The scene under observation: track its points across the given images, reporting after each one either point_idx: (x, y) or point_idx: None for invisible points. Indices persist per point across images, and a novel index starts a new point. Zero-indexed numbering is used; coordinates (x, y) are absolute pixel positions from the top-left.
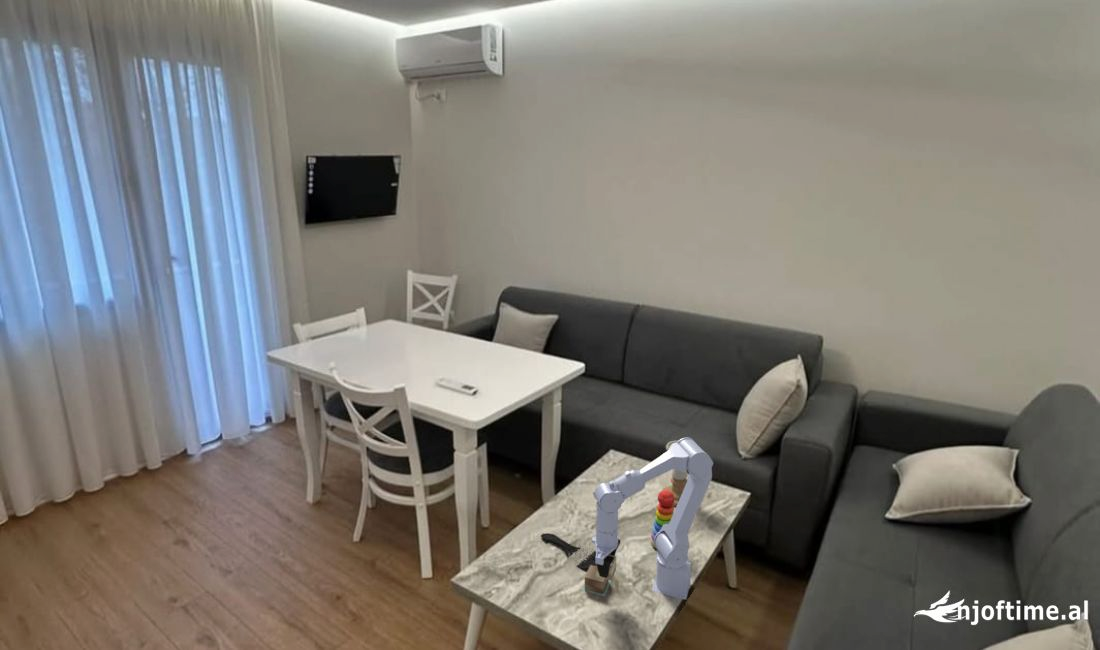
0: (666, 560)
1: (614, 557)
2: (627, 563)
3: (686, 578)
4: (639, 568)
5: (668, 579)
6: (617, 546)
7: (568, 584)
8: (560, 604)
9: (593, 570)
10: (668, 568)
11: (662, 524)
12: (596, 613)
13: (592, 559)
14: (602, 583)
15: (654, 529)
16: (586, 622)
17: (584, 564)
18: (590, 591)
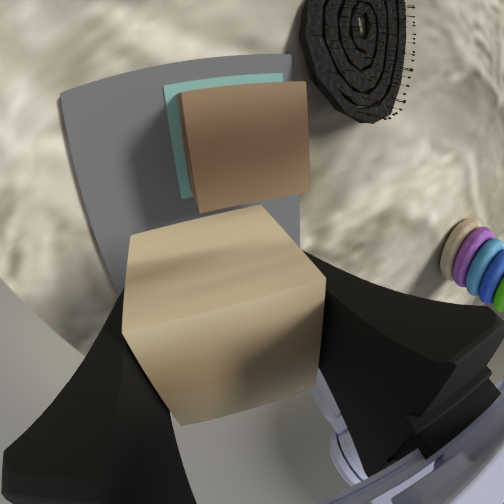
0: (337, 463)
1: (296, 389)
2: (393, 191)
3: (325, 417)
4: (380, 235)
5: (318, 385)
6: (363, 461)
7: (182, 9)
8: (45, 55)
9: (267, 115)
10: (332, 425)
11: (500, 295)
12: (83, 213)
13: (372, 62)
14: (197, 205)
15: (492, 253)
16: (25, 208)
17: (332, 35)
18: (176, 126)
